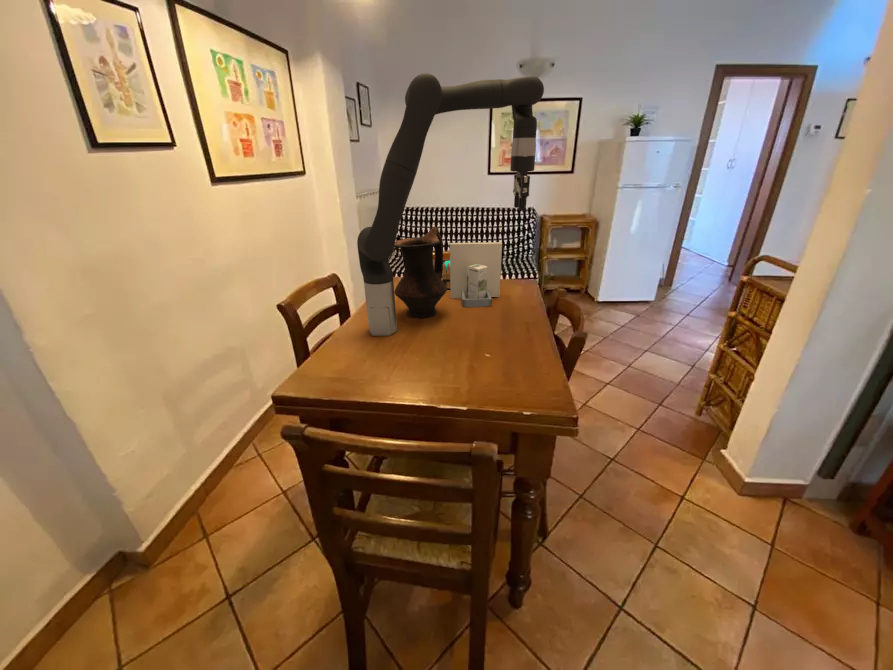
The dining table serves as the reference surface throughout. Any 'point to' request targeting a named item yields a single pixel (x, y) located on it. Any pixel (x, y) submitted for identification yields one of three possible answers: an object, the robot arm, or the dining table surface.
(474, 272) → the syrup box
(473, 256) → the wall holder
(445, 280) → the ammunition clip
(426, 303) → the jug
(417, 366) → the dining table surface
